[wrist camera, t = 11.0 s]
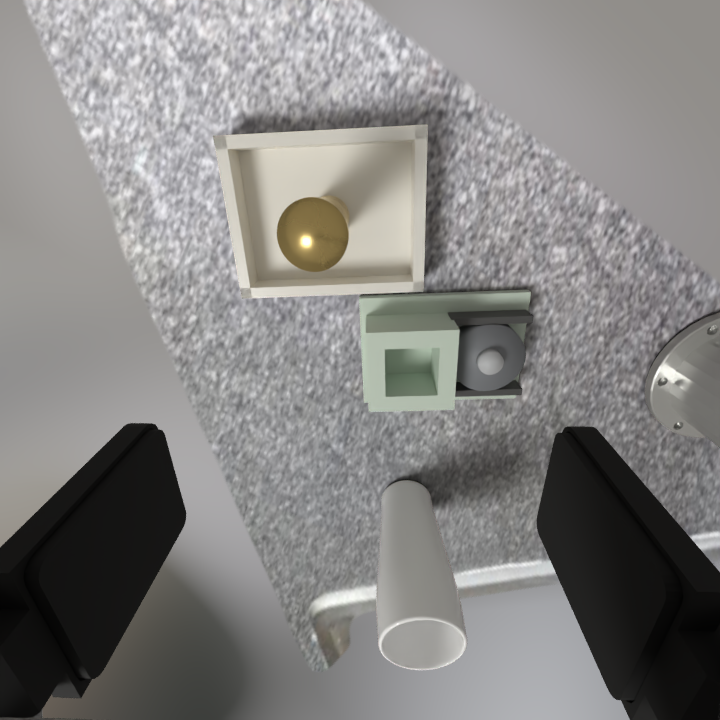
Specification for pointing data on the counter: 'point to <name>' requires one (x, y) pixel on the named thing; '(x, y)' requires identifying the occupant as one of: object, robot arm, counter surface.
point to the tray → (328, 178)
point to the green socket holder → (442, 348)
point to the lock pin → (314, 232)
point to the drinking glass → (416, 584)
